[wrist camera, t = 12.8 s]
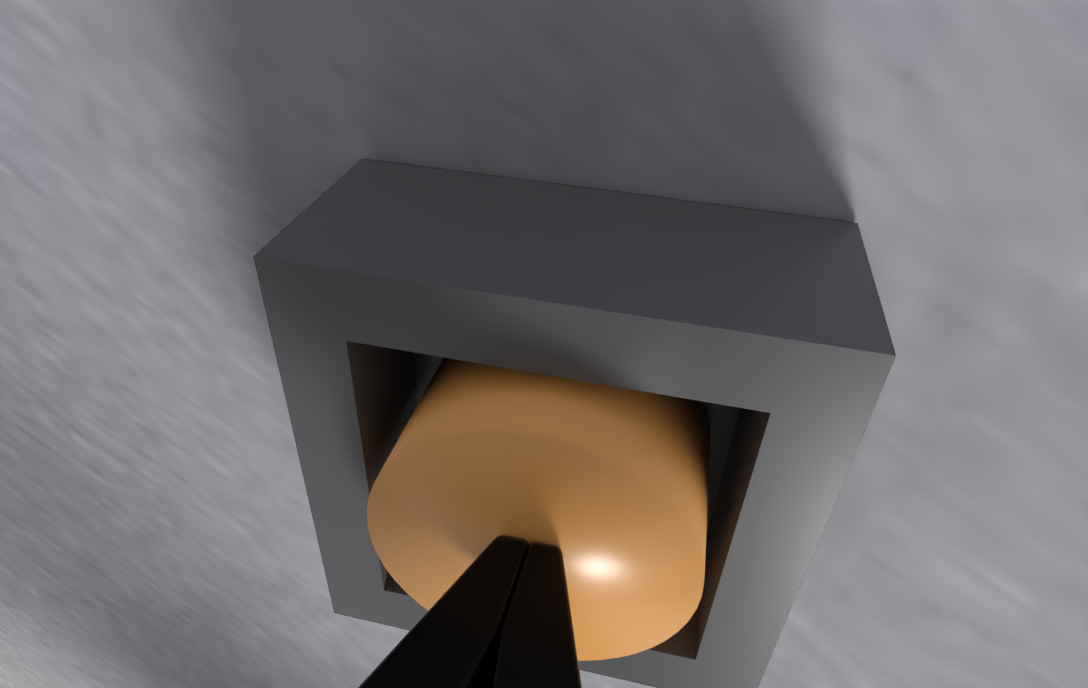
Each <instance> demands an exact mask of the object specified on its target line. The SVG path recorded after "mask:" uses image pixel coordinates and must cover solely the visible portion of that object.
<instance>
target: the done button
mask: <svg viewBox="0 0 1088 688" xmlns="http://www.w3.org/2000/svg"><path fill="white" fill-rule="evenodd" d="M710 451H711V439H710V428H709V423H708V418H707V415H706V412H705V410H704V407H703V405H702V402H701V401H697V400H691V399H685V398H679V397H673V396H667V395H661V394H656V393H650V392H644V391H638V390H632V389H626V388H620V387H614V386H609V385H603V384H597V383H591V382H585V381H579V380H573V379H567V378H562V377H556V376H550V375H544V374H538V373H532V372H526V371H520V370H515V369H509V368H503V367H497V366H491V365H485V364H479V363H473V362H468V361H462V360H456V359H450V358H443V360H442V362H441V363H440V365H439V367H438V368H437V370H436V372H435V374H434V375H433V377H432V379H431V381H430V383H429V385H428V386H427V388H426V390H425V392H424V394H423V395H422V397H421V399H420V401H419V403H418V404H417V406H416V408H415V410H414V412H413V413H412V415H411V417H410V419H409V421H408V423H407V424H406V426H405V428H404V430H403V432H402V433H401V435H400V437H399V439H398V441H397V442H396V444H395V446H394V448H393V450H392V451H391V453H390V455H389V457H388V459H387V461H386V462H385V464H384V466H383V468H382V470H381V471H380V473H379V475H378V477H377V479H376V480H375V482H374V484H373V486H372V489H371V492H370V495H369V498H368V505H367V525H368V530H369V534H370V538H371V541H372V544H373V546H374V548H375V551H376V553H377V555H378V557H379V558H380V560H381V562H382V563H383V565H384V567H385V568H386V570H387V571H388V572H389V574H390V575H391V576H392V577H393V579H394V580H395V581H396V582H397V583H398V584H399V585H400V587H401V588H402V589H403V590H404V591H405V592H406V593H407V594H408V595H409V596H411V597H412V598H413V599H414V600H415V601H416V602H418V603H419V604H420V605H421V606H422V607H424V608H425V609H427V610H428V611H429V610H430V609H431V608H432V606H433V605H434V604H435V603H436V602H437V601H438V600H439V599H440V598H441V597H442V596H443V594H444V593H445V592H446V591H447V590H448V589H449V588H450V587H451V586H452V585H453V583H454V582H455V581H456V580H457V579H458V578H459V577H460V576H461V575H462V574H463V573H464V571H465V570H466V569H467V568H468V567H469V566H470V565H471V564H472V563H473V562H474V561H475V559H476V558H477V557H478V556H479V555H480V554H481V553H482V552H483V551H484V550H485V549H486V547H487V546H488V545H489V544H490V543H491V542H492V541H493V540H494V539H495V538H496V537H498V536H500V535H506V536H511V537H516V538H521V539H525V540H527V541H528V542H529V545H530V544H531V543H533V542H540V543H545V544H550V545H554V546H558V547H560V548H561V550H562V554H563V560H564V567H565V574H566V581H567V588H568V595H569V602H570V609H571V616H572V623H573V630H574V637H575V644H576V651H577V658H578V661H589V660H604V659H612V658H619V657H623V656H628V655H632V654H636V653H639V652H641V651H644V650H647V649H650V648H652V647H654V646H656V645H658V644H660V643H662V642H664V641H666V640H667V639H669V638H670V637H672V636H673V635H674V634H676V633H677V632H678V631H679V630H680V629H681V628H682V627H683V626H684V625H685V624H686V623H687V622H688V621H689V620H690V618H691V617H692V615H693V614H694V612H695V611H696V609H697V607H698V604H699V602H700V600H701V597H702V592H703V587H704V577H705V556H706V535H707V514H708V493H709V472H710Z"/></svg>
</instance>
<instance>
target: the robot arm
mask: <svg viewBox="0 0 1088 688" xmlns="http://www.w3.org/2000/svg"><path fill="white" fill-rule="evenodd" d="M358 688H582V687H581V680H580V673H579V665H578V658H577V651H576V644H575V637H574V630H573V623H572V616H571V609H570V602H569V595H568V588H567V581H566V574H565V567H564V560H563V554H562V550H561V548H560V547H558V546H554V545H550V544H545V543H540V542H533V543H531V544H530V545H529V542H528V541H527V540H525V539H521V538H516V537H511V536H506V535H500V536H498V537H496V538H495V539H494V540H493V541H492V542H491V543H490V544H489V545H488V546H487V547H486V549H485V550H484V551H483V552H482V553H481V554H480V555H479V556H478V557H477V558H476V559H475V561H474V562H473V563H472V564H471V565H470V566H469V567H468V568H467V569H466V570H465V571H464V573H463V574H462V575H461V576H460V577H459V578H458V579H457V580H456V581H455V582H454V583H453V585H452V586H451V587H450V588H449V589H448V590H447V591H446V592H445V593H444V594H443V596H442V597H441V598H440V599H439V600H438V601H437V602H436V603H435V604H434V605H433V606H432V608H431V609H430V610H429V611H428V612H427V613H426V614H425V615H424V616H423V617H422V618H421V620H420V621H419V622H418V623H417V624H416V625H415V626H414V627H413V628H412V629H411V631H410V632H409V633H408V634H407V635H406V636H405V637H404V638H403V639H402V640H401V641H400V643H399V644H398V645H397V646H396V647H395V648H394V649H393V650H392V651H391V652H390V653H389V655H388V656H387V657H386V658H385V659H384V660H383V661H382V662H381V663H380V664H379V665H378V667H377V668H376V669H375V670H374V671H373V672H372V673H371V674H370V675H369V676H368V678H367V679H366V680H365V681H364V682H363V683H362V684H361V685H360V686H359V687H358Z"/></svg>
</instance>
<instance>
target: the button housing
mask: <svg viewBox="0 0 1088 688" xmlns="http://www.w3.org/2000/svg"><path fill="white" fill-rule="evenodd" d="M254 261H255V265H256V270H257V274H258V278H259V283H260V287H261V292H262V296H263V301H264V305H265V309H266V314H267V318H268V323H269V327H270V331H271V336H272V340H273V345H274V349H275V353H276V358H277V362H278V367H279V371H280V376H281V380H282V384H283V389H284V393H285V398H286V402H287V406H288V411H289V415H290V420H291V424H292V428H293V433H294V437H295V442H296V446H297V450H298V455H299V459H300V464H301V468H302V473H303V477H304V481H305V486H306V490H307V495H308V499H309V503H310V508H311V512H312V517H313V521H314V525H315V530H316V534H317V539H318V543H319V548H320V552H321V556H322V561H323V565H324V570H325V574H326V578H327V583H328V587H329V592H330V596H331V600H332V605H333V609H334V613H337V614H341V615H345V616H350V617H354V618H358V619H363V620H367V621H371V622H376V623H380V624H384V625H389V626H393V627H397V628H402V629H406V630H410V631H411V629H412V628H413V627H414V626H415V625H416V624H417V623H418V622H419V621H420V620H421V618H422V617H423V616H424V615H425V614H426V613H427V612H428V610H427V609H425V608H424V607H422V606H421V605H420V604H419V603H418V602H416V601H415V600H414V599H413V598H412V597H411V596H409V595H408V594H407V593H406V592H405V591H404V590H403V589H402V588H401V587H400V585H399V584H398V583H397V582H396V581H395V580H394V579H393V577H392V576H391V575H390V574H389V572H388V571H387V570H386V568H385V567H384V565H383V563H382V562H381V560H380V558H379V557H378V555H377V553H376V551H375V548H374V546H373V544H372V541H371V538H370V534H369V530H368V525H367V505H368V498H369V495H370V492H371V489H372V486H373V484H374V482H375V480H376V479H377V477H378V475H379V473H380V471H381V470H382V468H383V466H384V464H385V462H386V461H387V459H388V457H389V455H390V453H391V451H392V450H393V448H394V446H395V444H396V442H397V441H398V439H399V437H400V435H401V433H402V432H403V430H404V428H405V426H406V424H407V423H408V421H409V419H410V417H411V415H412V413H413V412H414V410H415V408H416V406H417V404H418V403H419V401H420V399H421V397H422V395H423V394H424V392H425V390H426V388H427V386H428V385H429V383H430V381H431V379H432V377H433V375H434V374H435V372H436V370H437V368H438V367H439V365H440V363H441V362H442V360H443V358H450V359H456V360H462V361H468V362H473V363H479V364H485V365H491V366H497V367H503V368H509V369H515V370H520V371H526V372H532V373H538V374H544V375H550V376H556V377H562V378H567V379H573V380H579V381H585V382H591V383H597V384H603V385H609V386H614V387H620V388H626V389H632V390H638V391H644V392H650V393H656V394H661V395H667V396H673V397H679V398H685V399H691V400H697V401H701V402H702V405H703V407H704V410H705V412H706V415H707V418H708V423H709V428H710V439H711V451H710V472H709V493H708V514H707V535H706V556H705V577H704V587H703V592H702V597H701V600H700V602H699V604H698V607H697V609H696V611H695V612H694V614H693V615H692V617H691V618H690V620H689V621H688V622H687V623H686V624H685V625H684V626H683V627H682V628H681V629H680V630H679V631H678V632H677V633H676V634H674V635H673V636H672V637H670V638H669V639H667V640H666V641H664V642H662V643H660V644H658V645H656V646H654V647H652V648H650V649H647V650H644V651H641V652H639V653H636V654H632V655H628V656H623V657H619V658H612V659H604V660H589V661H578V665H579V670H583V671H588V672H592V673H596V674H601V675H605V676H609V677H614V678H618V679H622V680H627V681H631V682H635V683H640V684H644V685H648V686H653V687H657V688H758V686H759V684H760V681H761V679H762V677H763V674H764V672H765V669H766V667H767V665H768V662H769V660H770V657H771V655H772V653H773V650H774V648H775V645H776V643H777V641H778V638H779V636H780V633H781V631H782V629H783V626H784V624H785V621H786V619H787V616H788V614H789V612H790V609H791V607H792V604H793V602H794V600H795V597H796V595H797V592H798V590H799V588H800V585H801V583H802V580H803V578H804V576H805V573H806V571H807V568H808V566H809V564H810V561H811V559H812V556H813V554H814V552H815V549H816V547H817V544H818V542H819V540H820V537H821V535H822V532H823V530H824V528H825V525H826V523H827V520H828V518H829V515H830V513H831V511H832V508H833V506H834V503H835V501H836V499H837V496H838V494H839V491H840V489H841V487H842V484H843V482H844V479H845V477H846V475H847V472H848V470H849V467H850V465H851V463H852V460H853V458H854V455H855V453H856V451H857V448H858V446H859V443H860V441H861V439H862V436H863V434H864V431H865V429H866V427H867V424H868V422H869V419H870V417H871V415H872V412H873V410H874V407H875V405H876V402H877V400H878V398H879V395H880V393H881V390H882V388H883V386H884V383H885V381H886V378H887V376H888V374H889V371H890V369H891V366H892V364H893V362H894V359H895V357H896V354H895V351H894V347H893V344H892V340H891V337H890V333H889V330H888V327H887V323H886V320H885V316H884V313H883V309H882V306H881V302H880V299H879V296H878V292H877V289H876V285H875V282H874V278H873V275H872V271H871V268H870V265H869V261H868V258H867V254H866V251H865V247H864V244H863V241H862V237H861V234H860V230H859V227H858V223H853V222H846V221H838V220H830V219H822V218H815V217H807V216H799V215H791V214H784V213H776V212H768V211H761V210H753V209H745V208H737V207H730V206H722V205H714V204H707V203H699V202H691V201H683V200H676V199H668V198H660V197H652V196H645V195H637V194H629V193H622V192H614V191H606V190H598V189H591V188H583V187H575V186H567V185H560V184H552V183H544V182H537V181H529V180H521V179H513V178H506V177H498V176H490V175H482V174H475V173H467V172H459V171H452V170H444V169H436V168H428V167H421V166H413V165H405V164H397V163H390V162H382V161H374V160H367V159H362V160H360V161H359V162H358V163H357V164H356V165H355V166H354V167H353V168H352V169H350V170H349V171H348V172H347V173H346V174H345V175H344V176H343V177H341V178H340V179H339V180H338V181H337V182H336V183H335V184H334V185H333V186H331V187H330V188H329V189H328V190H327V191H326V192H325V193H324V194H322V195H321V196H320V197H319V198H318V199H317V200H316V201H315V202H314V203H312V204H311V205H310V206H309V207H308V208H307V209H306V210H305V211H304V212H302V213H301V214H300V215H299V216H298V217H297V218H296V219H295V220H293V221H292V222H291V223H290V224H289V225H288V226H287V227H286V228H285V229H283V230H282V231H281V232H280V233H279V234H278V235H277V236H276V237H274V238H273V239H272V240H271V241H270V242H269V243H268V244H267V245H266V246H264V247H263V248H262V249H261V250H260V251H259V252H258V253H257V254H256V255H254Z"/></svg>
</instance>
